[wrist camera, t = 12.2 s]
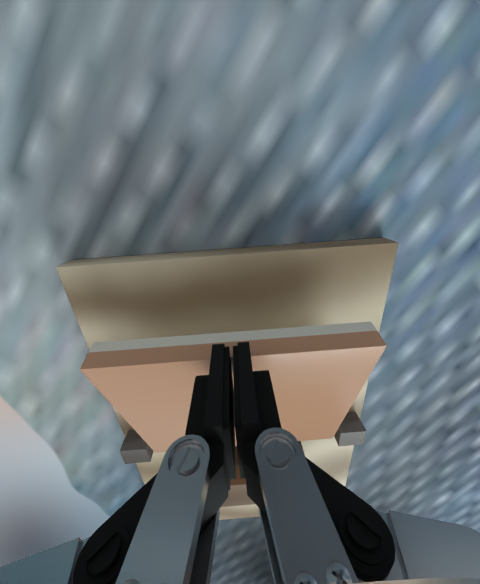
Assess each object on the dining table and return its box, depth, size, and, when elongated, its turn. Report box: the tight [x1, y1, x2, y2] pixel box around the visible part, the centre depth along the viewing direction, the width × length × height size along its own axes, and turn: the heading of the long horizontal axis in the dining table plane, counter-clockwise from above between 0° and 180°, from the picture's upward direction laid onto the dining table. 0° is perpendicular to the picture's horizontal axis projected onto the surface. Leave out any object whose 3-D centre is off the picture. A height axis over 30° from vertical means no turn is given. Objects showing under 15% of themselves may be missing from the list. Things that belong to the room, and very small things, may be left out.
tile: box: [80, 321, 387, 453], centre depth 15 cm, size 13×14×2 cm
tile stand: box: [56, 238, 398, 520], centre depth 19 cm, size 30×20×4 cm, turn 4°
